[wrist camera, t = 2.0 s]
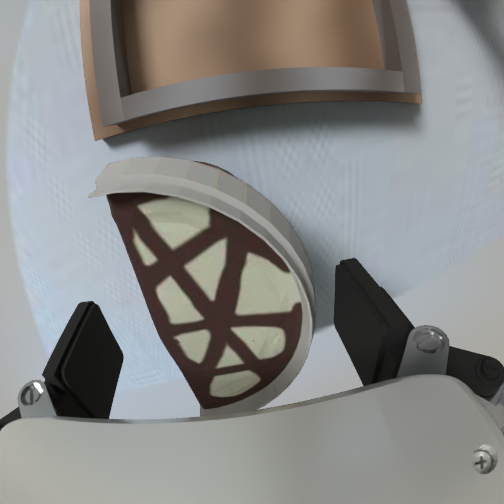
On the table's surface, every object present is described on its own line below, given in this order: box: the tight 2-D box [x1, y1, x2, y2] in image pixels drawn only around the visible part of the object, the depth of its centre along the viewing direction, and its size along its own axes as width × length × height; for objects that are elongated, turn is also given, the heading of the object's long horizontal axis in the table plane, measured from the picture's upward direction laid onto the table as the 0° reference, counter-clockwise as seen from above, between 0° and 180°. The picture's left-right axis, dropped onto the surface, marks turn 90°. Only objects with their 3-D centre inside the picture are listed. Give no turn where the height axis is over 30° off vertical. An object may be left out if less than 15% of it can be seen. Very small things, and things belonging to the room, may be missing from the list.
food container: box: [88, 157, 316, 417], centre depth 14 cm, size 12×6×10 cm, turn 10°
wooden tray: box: [80, 0, 422, 141], centre depth 11 cm, size 20×12×3 cm, turn 98°
